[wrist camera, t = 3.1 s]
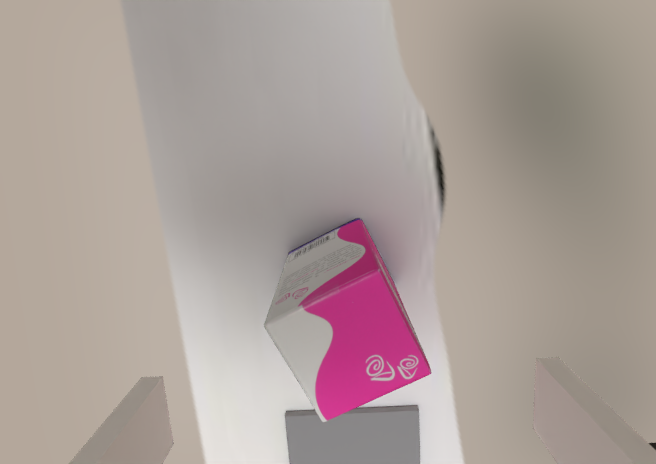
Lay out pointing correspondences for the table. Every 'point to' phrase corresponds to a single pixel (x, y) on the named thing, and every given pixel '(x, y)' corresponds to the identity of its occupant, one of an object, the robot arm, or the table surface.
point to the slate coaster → (355, 436)
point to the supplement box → (343, 323)
